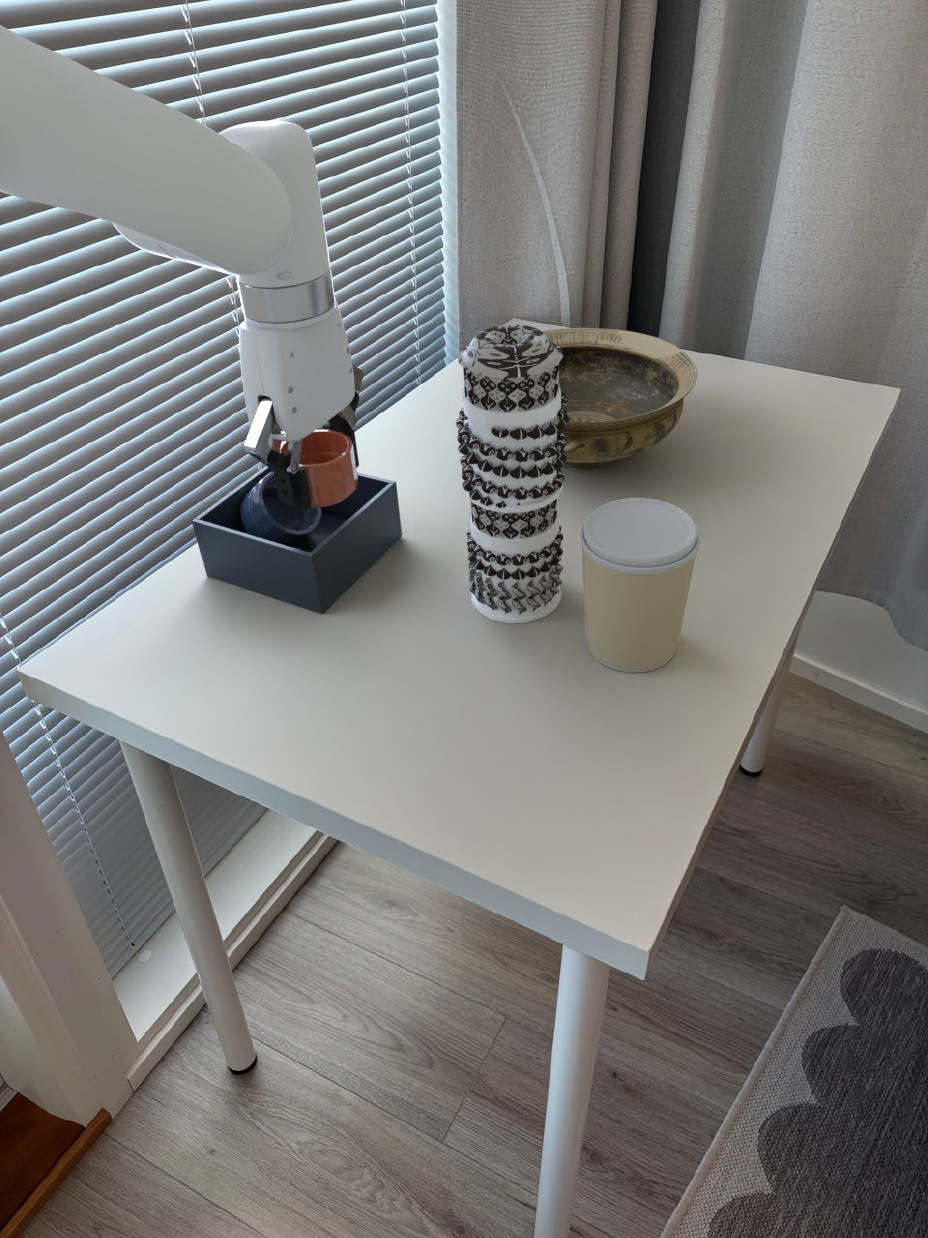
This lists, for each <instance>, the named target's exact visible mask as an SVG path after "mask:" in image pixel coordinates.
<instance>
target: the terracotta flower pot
mask: <svg viewBox="0 0 928 1238" xmlns="http://www.w3.org/2000/svg"><path fill="white" fill-rule="evenodd" d="M288 444H289V442H285V441H281V449H280V453H282V454H283V455H285V456H287V453H288ZM299 467H300V468H303V469H305V471H306V477H307V482H308V488H309V493H310V498H311V506H310V507H325V506H330V505H334V504H336V503H339V502H341V501H343V500H344V499H346V498H347V497H348V496H349V495H350V494H351V493H352V492H353V491H355V489H356V487H357V484H358V477H357V472H358V471H357V468H356V464H355V456H354V449H353V444H352V441H351V439H350V437H348V436H347V435H345V434H343V433H341V432H338V431H333V430H323V429H316V430H315V431H313V432H312V433H310V434H309V435H308V436H306V437H305V438H303V440H302V448H301V456H300V464H299Z"/></svg>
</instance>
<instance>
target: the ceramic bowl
mask: <svg viewBox="0 0 928 1238" xmlns="http://www.w3.org/2000/svg"><path fill="white" fill-rule="evenodd" d="M541 331H542V332H543V333H545V334H546V335H547V336H548V338H549V339H550V341H552V342H553V343H554V344H556V345H557V346H559V347H560V348H561V350H562V354H563V358H562V359H561V360H560V362H559V386H560V390H561V392H563V394H565V395H566V397H565V398H564V399H566V400H568V404H567V405H565V406H563V407H562V405H561V407H562V408H564V409H565V410H566V411H567V415H568V416H569V419H570V420H569V422H568V423H566V427H565V428H564V429H563V430H562V431H563V432H564V435H565V436H566V437H567V443H566V444H565V448H564V451H565V453H564V454H565V455H566V457H567V460H566V462H564V464H563V466H565V467H566V466H567V467H571V468H590V467H591V468H592V467H596V466H599V465H602V464H605V463H607V462H611V461H616V460H620V459H624V458H629V457H632V456H635V455H637V454H639V453H642V452H645V451H647V450H649V449H650V448H653V447H655V446H656V445H657V444H659V443H660V442H661V441H663V440H664V439H665V438H666V437H668V436H669V434H671V433H672V432H673V430H674V429H675V427H676V426H677V425H678V423H679V421H680V418H681V415H682V413H683V411H684V410H683V409H684V399H685V398H686V397H687V396H688V395H689V394H690V393H691V392H692V390H693V389H694V388H695V386H696V382H697V380H698V369H697V366H696V364H695V362H694V361H693V360H692V358H691V357H690V356H689V355H688V354H687V353H686V352H684V351H683V350H682V349H681V348H679V347H678V346H676V345H675V344H673V343H671V342H669V341H666V340H664V339H662V338H659V337H656V336H653V335H648V334H645V333H640V332H636V331H630V330H622V329H613V328H612V329H611V328H601V327H600V328H599V327H598V328H597V327H567V328H566V327H565V328H554V329H548V330H547V329H546V330H541ZM557 421H558V416H557Z"/></svg>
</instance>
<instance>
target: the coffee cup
mask: <svg viewBox="0 0 928 1238" xmlns="http://www.w3.org/2000/svg"><path fill="white" fill-rule="evenodd" d="M579 542H580V546H581V564H582V565H581V567H582V585H583V586H582V587H583V603H584V605H583V606H584V607H583V608H584V625H585V626H584V627H585V636H586V637H585V638H586V645H587V646H586V647H587V649H588V652H589V653H590V654H591V655H592V657H593V658H594V659H595V660H596V661H597V662H598V663H600V664H601V665H603V666H604V667H607V668H609V669H612V670H614V671H615V670H616V671H619V672H625V673H646V672H650V671H654V670H657V669H659V668H662V667H663V666H665V665H666V664H667V663H669V662H670V661H671V659H672V658H673V656H674V655H675V654H676V651H677V647H678V644H679V640H680V635H681V629H682V626H683V621H684V616H685V612H686V606H687V602H688V597H689V591H690V587H691V582H692V577H693V573H694V572H693V571H694V569H695V562H696V556H697V553H698V551H699V548H700V543H701V535H700V531H699V529H698V527H697V524H696V522H695V519H693V518H692V517H691V516H690V514H689V513H688V512H686V511H685V510H683V508H681V507H678V506H676V505H674V504H672V503H669V502H667V501H662V500H659V499H653V498H646V497H628V498H627V497H626V498H621V499H616V500H612V501H609V502H606V503H604V504H601V505H600V506H598V507H596V508H595V509H593V510H592V511H591V512H590V513H589V515H587V517H586V519H585V520H584V523H582V525H581V528H580V532H579Z"/></svg>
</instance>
